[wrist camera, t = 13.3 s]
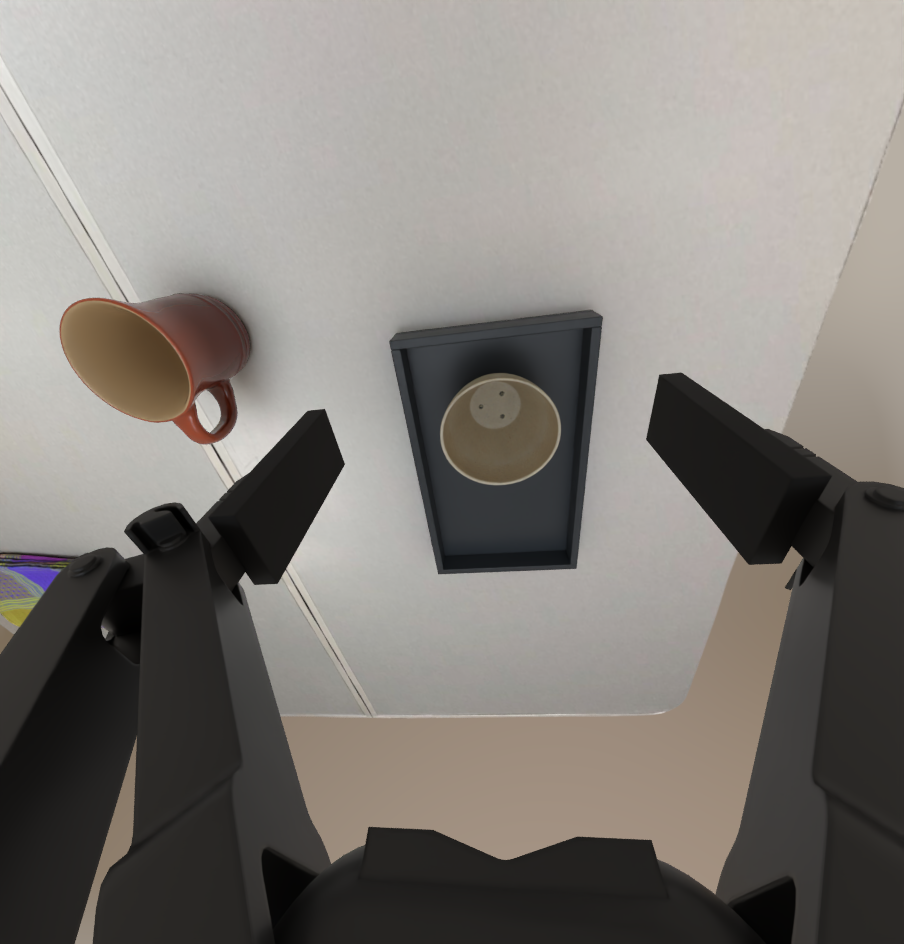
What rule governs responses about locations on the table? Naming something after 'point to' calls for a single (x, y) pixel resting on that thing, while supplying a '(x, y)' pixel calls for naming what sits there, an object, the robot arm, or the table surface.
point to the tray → (513, 352)
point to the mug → (159, 357)
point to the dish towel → (25, 583)
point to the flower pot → (500, 429)
